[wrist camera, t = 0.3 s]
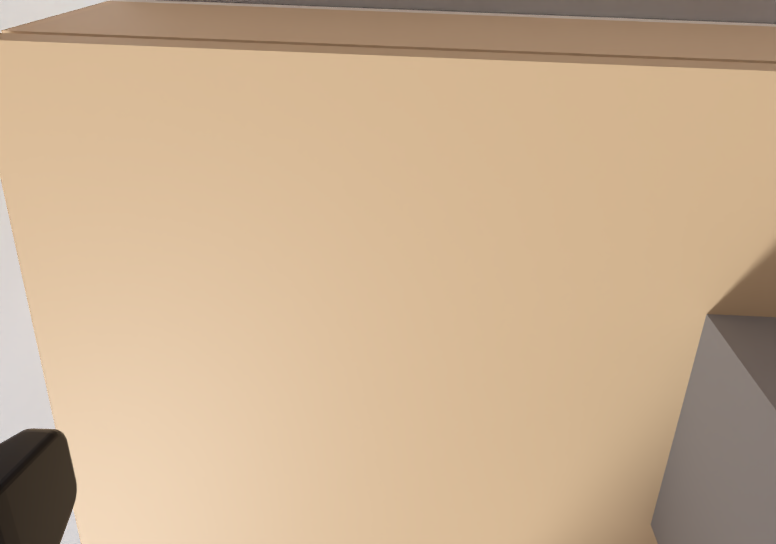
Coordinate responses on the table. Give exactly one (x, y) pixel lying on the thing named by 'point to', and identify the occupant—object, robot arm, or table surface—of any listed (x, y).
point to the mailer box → (416, 30)
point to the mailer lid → (398, 290)
